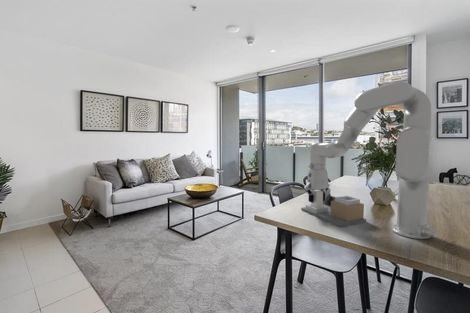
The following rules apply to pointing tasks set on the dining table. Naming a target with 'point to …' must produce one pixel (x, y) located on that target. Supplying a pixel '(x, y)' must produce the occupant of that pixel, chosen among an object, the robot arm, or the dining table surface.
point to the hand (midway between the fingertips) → (316, 200)
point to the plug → (317, 199)
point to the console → (340, 211)
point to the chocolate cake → (329, 200)
